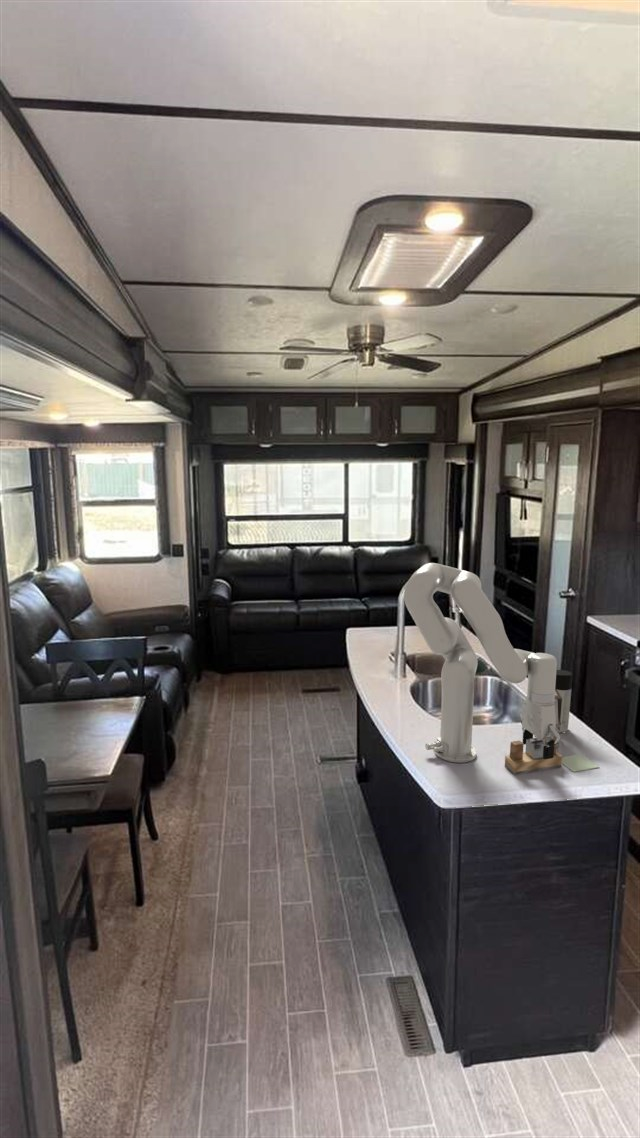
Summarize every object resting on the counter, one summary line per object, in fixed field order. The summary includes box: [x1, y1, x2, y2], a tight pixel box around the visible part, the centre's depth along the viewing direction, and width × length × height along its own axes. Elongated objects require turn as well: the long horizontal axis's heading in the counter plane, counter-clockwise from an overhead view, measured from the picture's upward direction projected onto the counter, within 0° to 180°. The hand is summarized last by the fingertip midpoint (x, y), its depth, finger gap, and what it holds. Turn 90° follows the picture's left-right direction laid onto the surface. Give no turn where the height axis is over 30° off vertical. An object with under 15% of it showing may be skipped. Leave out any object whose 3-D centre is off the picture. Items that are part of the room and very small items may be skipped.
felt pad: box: [562, 754, 600, 773], centre depth 182 cm, size 9×8×1 cm
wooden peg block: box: [504, 740, 563, 776], centre depth 179 cm, size 16×5×8 cm, turn 107°
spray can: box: [555, 669, 573, 734], centre depth 203 cm, size 7×7×20 cm
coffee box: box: [535, 689, 562, 747], centre depth 196 cm, size 9×6×16 cm
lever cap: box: [524, 737, 545, 760], centre depth 179 cm, size 5×4×6 cm
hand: (537, 750), depth 179 cm, fingers open, 9 cm apart
